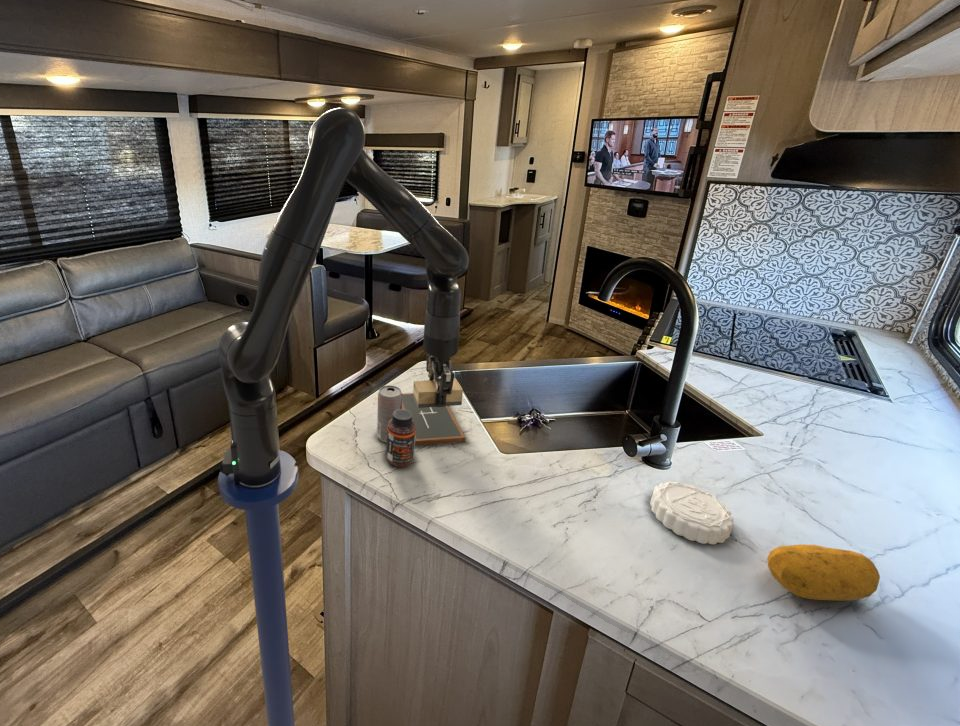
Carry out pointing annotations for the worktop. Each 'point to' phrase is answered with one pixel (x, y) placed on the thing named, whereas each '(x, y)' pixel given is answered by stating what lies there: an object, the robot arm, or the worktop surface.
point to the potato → (823, 572)
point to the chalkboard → (433, 423)
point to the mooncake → (691, 512)
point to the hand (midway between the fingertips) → (436, 399)
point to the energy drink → (387, 408)
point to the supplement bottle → (400, 438)
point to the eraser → (427, 394)
